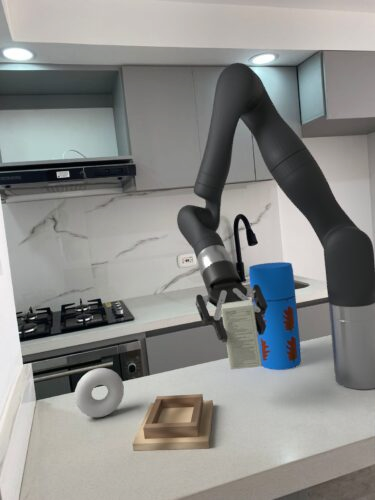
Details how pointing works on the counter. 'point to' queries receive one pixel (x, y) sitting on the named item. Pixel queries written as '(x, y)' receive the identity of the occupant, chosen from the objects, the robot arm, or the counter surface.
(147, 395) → the counter surface
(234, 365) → the skincare box
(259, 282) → the thermos
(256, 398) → the counter surface
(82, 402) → the donut
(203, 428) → the wooden square holder
